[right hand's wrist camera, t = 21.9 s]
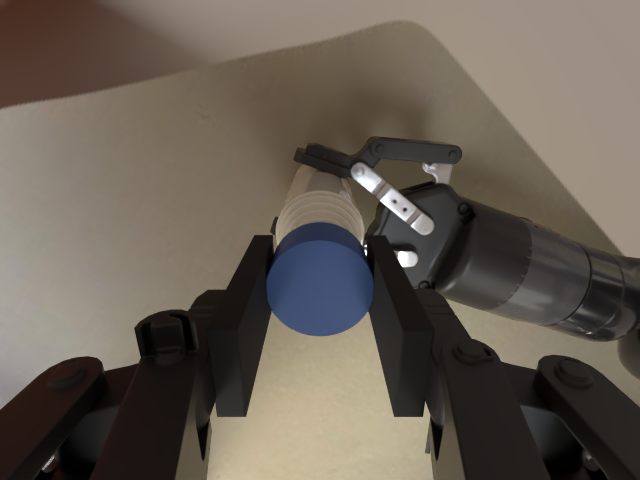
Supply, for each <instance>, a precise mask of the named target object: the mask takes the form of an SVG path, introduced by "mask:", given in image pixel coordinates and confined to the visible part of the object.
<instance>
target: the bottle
mask: <svg viewBox="0 0 640 480" xmlns="http://www.w3.org/2000/svg"><path fill="white" fill-rule="evenodd" d="M314 222H326V223H332V224H335V225H338V226H341V227H343V228H345V229H346V230H348V231H349V232H351V233H352V234H353V235H354V236H355V237H356V238H357V239H358V240H359V242H360V243H361V244H362V246H363V241H364V233H365V232H364V224H363V220H362V217H361V215H360V212H359V210H358V207H357V204H356V202H355V199H354V197H353V194H352V191H351V189H350V186H349V184H348V181H347V179H344V178H341V177H338V176H335V175H333V174H330V173H327V172H324V171H321V170H318V169H316V168H313V167H310V166H307V165H304V164H302V165H301V166H300V167H299V169H298V170H297V172H296V174H295V176H294V179H293V182H292V184H291V187H290V189H289V192H288V194H287V197H286V200H285V202H284V205H283V207H282V210H281V212H280V215H279V218H278V220H277V224H276V241H277V246H278V245H279V243H280V241H281V240H282V239H283V238H284V237H285V236H286V235H287V234H288V233H289V232H291V231H292V230H293V229H295V228H297V227H299V226H302V225H304V224H308V223H314Z"/></svg>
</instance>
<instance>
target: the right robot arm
mask: <svg viewBox="0 0 640 480" xmlns="http://www.w3.org/2000/svg"><path fill="white" fill-rule="evenodd" d="M273 256H274V249H273V235H254V237H253V239H252V241H251V243H250V245H249V247H248V249H247V251H246V253H245V254H244V256H243V258H242V260H241V262H240V264H239V266H238V268H237V270H236V272H235V274H234V275H233V277H232V279H231V281H230V283H229V285H228V287H227V289H226V290H207V291H206V292H204V293H203V294H201V295H200V296H198V297H197V298H196V300H195V301H194V303H193V304H192V306H191V309H189V310H188V311H185V310H166V311H161V312H158V313H155V314H153V315H150V316H148V317H146V318H145V319H143V320H142V321H140V322H139V323H138V324H137V326H136V327H135V328H134V329H135V334H136V338H137V343H138V347H139V351H140V356H141V359H140V361H139V363H138V364H134V365H131V366H126V367H122V368H117V369H112V370H108V371H104V368H103V364H102V362H101V361H100V360H99V359H98V358H94V357H89V356H86V357H76V358H72V359H68V360H65V361H62V362H60V363H58V364H56V365H54V366H52V367H50V368H49V369H47V370H46V371H44V372H43V373H42V374H40V375H39V376H38V377H37V378H35V379H34V380H33V381H32V382H31V383H30V384H29V385H28V386H26V387H25V388H24V389H23V390H22V391H21V392H20V393H19V394H18V395H16V396H15V397H14V398H13V399H12V400H11V401H10V402H9V403H7V404H6V405H5V406H4V407H3V408H2V409H1V410H0V480H206V479H207V470H208V461H209V451H210V442H211V433H212V430H211V423H210V415H211V412H212V409H213V406H214V403H215V404H216V411H217V417H246V415H247V411H248V406H249V402H250V398H251V394H252V390H253V386H254V382H255V377H256V373H257V369H258V365H259V361H260V357H261V352H262V348H263V344H264V340H265V336H266V332H267V328H268V323H269V319H270V315H271V311H272V310H271V308H270V306H269V303H268V300H267V284H266V279H267V275H268V272H269V269H270V266H271V263H272V259H273ZM366 256H367V259H368V263H369V266H370V269H371V272H372V275H373V280H374V288H373V300H372V303H371V306H370V308H369V309H368V310H369V314H370V318H371V323H372V327H373V331H374V335H375V339H376V343H377V347H378V352H379V356H380V360H381V364H382V368H383V372H384V376H385V381H386V385H387V389H388V393H389V397H390V401H391V405H392V410H393V414H394V417H423V413H424V405H425V401H426V404H427V407H428V409H429V412H430V415H431V416H430V423H429V430H428V437H427V443H426V450H425V453H428V454H430V450H431V460H432V469H433V478H434V480H640V407H639V406H638V405H637V404H635V403H634V402H633V401H632V400H631V399H630V398H629V397H628V396H626V395H625V394H624V393H623V392H622V391H621V390H620V389H619V388H617V387H616V386H615V385H614V384H613V383H612V382H611V381H610V380H608V379H607V378H606V377H605V376H604V375H603V374H601V373H600V372H599V371H597V370H596V369H594V368H593V367H592V366H590V365H588V364H586V363H584V362H581V361H580V360H577V359H574V358H571V357H566V356H560V355H549V356H544V357H543V358H541V359H540V360H539V362H538V365H537V369H536V370H535V369H530V368H525V367H521V366H516V365H511V364H508V363H504V362H501V361H500V358H499V357H498V355H497V354H496V352H495V351H494V350H493V349H492V348H490V347H489V346H487V345H486V344H484V343H482V342H480V341H477V340H475V339H471V337H470V336H469V334H468V333H467V331H466V330H465V328H464V327H463V325H462V324H461V322H460V321H459V319H458V318H457V316H456V315H455V313H454V312H453V310H452V308H451V307H450V305H449V304H448V302H447V301H446V299H445V298H444V296H442V295H441V294H439V293H438V292H436V291H435V290H433V289H414V288H413V286H412V285H411V283H410V281H409V279H408V277H407V275H406V273H405V271H404V269H403V267H402V265H401V264H400V262H399V260H398V258H397V256H396V254H395V252H394V250H393V248H392V246H391V244H390V243H389V241H388V239H387V237H386V235H367V253H366ZM587 453H588V454H589V455H590V456H591V458H592V459H593V460H594V461H595V462H596V464H597V465H598V466H599V469H597V468H596V467H595V466H594V465H593V464H592V463H591V462H590V461H589V460H588V458H587V457H586V456H587ZM53 455H54V459H53V461H52V462H51V463H50V464H49V465H48V466H47V467H46V468H45V469H44V470H42V468H43V467H44V465H45V464H46V463H47V462H48V460H49V459H50V458H51V457H52V456H53Z"/></svg>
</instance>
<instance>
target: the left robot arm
mask: <svg viewBox="0 0 640 480" xmlns="http://www.w3.org/2000/svg"><path fill="white" fill-rule="evenodd" d="M461 157H462V151H461V149H460V148H459V147H458V146H455V145H451V144H448V143H444V142H434V141H422V140H411V139H399V138H387V137H376V136H374V137H371V138H369V139H368V140H367V142H366V144H365V146H364V147H363V148H362V149H361V150H360V151H359V152H358V153H357V154H355V155H347V154H344V153H342V152H339V151H336V150H333V149H331V148H328V147H325V146H322V145H320V144H317V143H308V145H307V148H306V150H305V149H302V148H297V149H296V152H295V156H294V159H293V160H294V161H296V162H299V163H301V164H304V165H307V166H310V167H313V168H316V169H318V170H321V171H324V172H327V173H330V174H333V175H335V176H338V177H341V178H344V179H346V177H347V176H349V177H352V178H354V179H355V180H356V181H357V182H358V183H360V184H361V185H362V186H363V187H365V188H366V189H367V190H368V191H369V192H371V193H372V194H373V195H374V196H375V197H376V198H377V199H378V200H379V201H380V202H379V204H378V206H377V210H376V217H375V220H374V221H373V222H372V224H371V225H370V226H369V228H368V230H367V232H366V234H364V241H363V248H364V251H365V253H367V235H386V237H387V239H388V241H389V243H390V244H391V246H392V248H393V250H394V252H395V254H396V256H397V258H398V260H399V262H400V264H401V265H402V267H403V269H404V271H405V273H406V275H407V277H408V279H409V281H410V283H411V285H412V286H413V288H417V289H433V290H435V291H436V292H438V293H439V294H441V295H442V296H444V298H445V299H448V300H452V301H455V302H458V303H461V304H464V305H467V306H470V307H473V308H476V309H479V310H483V311H486V312H489V313H492V314H495V315H498V316H501V317H505V318H508V319H512V320H516V321H522V322H528V323H533V324H537V325H540V326H543V327H546V328H549V329H552V330H555V331H558V332H561V333H565V334H568V335H571V336H574V337H577V338H580V339H584V340H589V341H595V342H608V341H613V340H617V339H618V340H617V350H618V356H619V359H620V362H621V364H622V365H623V366H624V368H625V369H626V370H627V371H628V372H629V373H630V374H632V375H633V376H634V377H636V378H637V379H639V380H640V258H632V257H625V256H618V255H612V254H608V253H606V252H603V251H600V250H597V249H594V248H592V247H589V246H586V245H583V244H580V243H578V242H575V241H572V240H570V239H568V238H566V237H564V236H562V235H560V234H558V233H557V232H555V231H553V230H551V229H549V228H546V227H544V226H541V225H538V224H536V223H533V222H532V221H530V220H529V219H526V218H523V217H516V216H514V215H511V214H508V213H505V212H503V211H500V210H497V209H494V208H492V207H489V206H486V205H483V204H481V203H478V202H475V201H472V200H469V199H467V198H464V197H461V196H459V195H458V194H457V193H456V192H455V191H454V189H453V188H452V187H451V186H449V181H450V176H451V172H452V167H453V164H456V163H457V162H458V161H459V160H460V159H461ZM380 159H392V160H404V161H416V162H419V167H420V168H421V169H422V170H423V171H425V172H427V173H430V174H431V176H432V181H430V182H426V183H423V184H419V185H416V186H412V187H409V188H405V189H402V190H398V189H397V188H395V187H394V186H393V185H392V184H391V183H389V182H388V181H387V180H386V179H385V178H383V177H382V176H381V175H380V174H378V173H377V172H376V171H375V170H374V169H373V167H374V166H375V165H376V164H377V163H378V162H379V161H380ZM278 218H279V217H275V219H274V221H273V224H272V227H271V230H270V232H271V233H272V234H273V235H276V224H277V220H278ZM368 312H369V310H368ZM586 457H587V458H588V460H589V461H590V462H591V463H592V464H593V465H594V466H595V467H596V468H597V469H599V466H598V465H597V464H596V462H595V461H594V460H593V459H592V458H591V456H590V455H589V454H588V453H587V456H586Z"/></svg>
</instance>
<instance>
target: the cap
mask: <svg viewBox="0 0 640 480" xmlns="http://www.w3.org/2000/svg"><path fill="white" fill-rule="evenodd" d="M266 284H267V300H268V303H269V306H270V308H271V310H272V311H273V313H274V314H275V316H276V317H277V318H278V319H279V320H280V321H281V322H282V323H283V324H285V325H286V326H288V327H289V328H291V329H293V330H295V331H297V332H300V333H302V334H306V335H312V336H329V335H334V334H338V333H341V332H343V331H345V330H348V329H349V328H351V327H353V326H354V325H355V324H357V323H358V322H359V321H360V320H361V319H362V318H363V317H364V315H365V314H366V313H367V311H368V309H369V308H370V306H371V303H372V300H373V288H374V280H373V275H372V272H371V269H370V266H369V263H368V259H367V256H366V253H365V251H364V248H363V246H362V244H361V243H360V242H359V240H358V239H357V238H356V237H355V236H354V235H353V234H352V233H351V232H349V231H348V230H346V229H345V228H343V227H341V226H338V225H335V224H332V223H326V222H314V223H308V224H304V225H302V226H299V227H297V228H295V229H293V230H292V231H291V232H289V233H288V234H287V235H286V236H285V237H284V238H283V239H282V240H281V241H280V243H279V245H278V246H277V248H276V251H275V253H274V256H273V259H272V263H271V266H270V269H269V272H268V275H267V279H266Z"/></svg>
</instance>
